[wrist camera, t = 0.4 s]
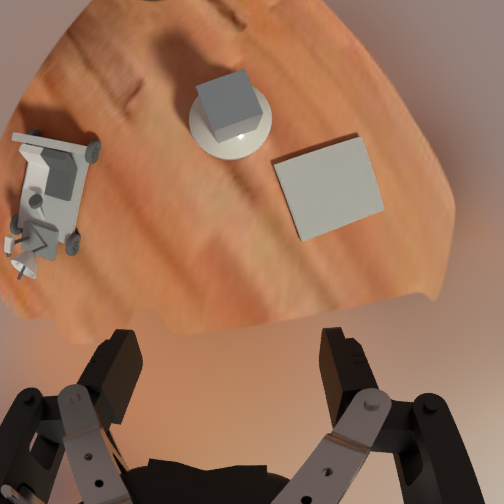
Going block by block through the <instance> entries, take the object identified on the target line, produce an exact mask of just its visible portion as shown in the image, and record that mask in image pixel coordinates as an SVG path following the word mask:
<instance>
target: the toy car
mask: <svg viewBox="0 0 504 504" xmlns="http://www.w3.org/2000/svg"><path fill="white" fill-rule="evenodd" d="M12 140H13V141H19V142H24V143H26V144H22V145H21V147H20V149H19V151H20V153H21V154H22V155H23V156H24V158H25V159H26V160H27V161H28V164H27V169H26V174H25V179H24V184H23V190H22V195H21V202H20V209H19V214H16V215H15V216H14V217H13V218H12V220H11V223H10V231H11V233H12V234H15V235H19V234H20V233H21V232H22V231H23V232H22V238H21V239H18V240H15V237H14V236H12V235H8V236H5V248H4V251H5V252H7V257H11V253H12V252H14V244H16V243H19V242H21V249H23V250H25V251H24V252H22V253H20V254H19V255H17V256H16V257H14V258H13V259H12V260H11V263H12V265H13V266H14V267H15V268H16V269H17V270H18V271H20V274H19V276H18V278H17V279H18V280H20V278H21V276H22V274H24V275H26V276H28V277H31V278H36V272H37V262H36V256H35V255H38V256H40V257H43V258H45V259H48V260H50V261H53V260H55V259H56V252H57V244H58V241H59V242H61V243H64V244H66V253H67V254H68V255H70V256H75V255H76V254H77V252H78V251H79V243H80V239H81V237H80V235H79V234H76V233H75V228H76V222H77V217H78V211H79V206H80V201H81V197H82V192H83V187H84V183H85V179H86V175H87V171H88V167H89V163H91V164H93V163H95V162H96V161H97V160H98V156H99V152H100V149H101V143H100V141H97V140H92V141H91V142H90V143H89V144H88V146H83V145H78V144H73V143H69V142H64V141H59V140H54V139H49V138H43V137H41V131H40V130H39V129H32V130H30V131H29V133H28V134H27V135H26V134H20V133H14V132H13V136H12Z"/></svg>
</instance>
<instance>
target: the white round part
mask: <svg viewBox="0 0 504 504" xmlns="http://www.w3.org/2000/svg"><path fill="white" fill-rule="evenodd" d="M252 87H253V86H252ZM253 90H254V92H255V94H256V97H257V99H258V101H259V104H260V106H261V109H262V111H263V115H262V118H261V120H260V123H259V125H258V127H257V129H256V130H253V131H250V132H248V133H245V134H242V135H239V136H237V137H234V138H231V139H228V140H226V141H223V142H221V143H218V141H217V139H216V137H215V134H214V132H213V129H212V127H211V124H210V122H209V119H208V117H207V114H206V112H205V109H204V106H203V104H202V101H201V99H200V96H199V95H198V96H197V98H196V99H195V101H194V102H193V104H192V107H191V110H190V114H189V126H190V131H191V134H192V136H193V138H194V139H195V141H196V142H197V144H198V145H199V146H200V147H201V148H202V149H203V150H204V151H205V152H206V153H208V154H209V155H210V156H212V157H214V158H217V159H220V160H225V161H236V160H240V159H244V158H246V157H248V156H250V155H252V154H253V153H254V152H256V151H257V150H258V149H259V148H260V146H261V145H262V144H263V142H264V141H265V140H266V138H267V136H268V134H269V132H270V129H271V124H272V113H271V109H270V106H269V103H268V101H267V100H266V98H265V97H264V95H263V94H262V93H261V92H260V91H259V90H257V89H256V88H255V87H253Z"/></svg>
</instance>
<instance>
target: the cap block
mask: <svg viewBox="0 0 504 504" xmlns="http://www.w3.org/2000/svg"><path fill="white" fill-rule="evenodd" d="M196 89H197V91H198V94H199V96H200V99H201V101H202V104H203V106H204V109H205V112H206V114H207V117H208V119H209V122H210V124H211V127H212V129H213V132H214V134H215V137H216V139H217V141H218V143H221V142H223V141H226V140H228V139H231V138H234V137H237V136H239V135H242V134H245V133H248V132H250V131H253V130H256V129H257V127H258V125H259V123H260V120H261V118H262V115H263V111H262V109H261V106H260V104H259V101H258V99H257V97H256V94H255V92H254V90H253V87H252V85H251V83H250V80H249V78H248V76H247V73H246V71H245V69H243V70H240V71H237V72H234V73H231V74H228V75H225V76H222V77H219V78H216V79H214V80H211V81H208V82H206V83H203V84H200V85H198V86H196Z"/></svg>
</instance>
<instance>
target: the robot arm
mask: <svg viewBox="0 0 504 504" xmlns="http://www.w3.org/2000/svg"><path fill="white" fill-rule="evenodd" d="M145 1H158V0H145ZM142 366H143V360H142V354H141V351H140V348H139V345H138V342H137V338H136V335H135V332H134V331H133V330H125V329H116V330H115V331H114V333H113V335H112V337H111V338H110V340H107V339H106V340H105V341H104V342H103V343H101V344H100V345H99V346H98V348H97V349H96V351H95V352H94V356H92V358H91V360H90V362H89V363H88V364H87V366H86V368H85V370H84V372H83V373H82V375H81V377H80V379H79V381H78V382H77V384H73V385H69V386H67V387H65V388H64V389H63V390H61V392H60V394H59V395H58V396H46V397H43V395H42V394H41V392H40V391H39V390H38V389H37V388H26V389H24V390H23V391H21V392H20V393H19V394H18V395H17V397H16V398H15V400H14V402H13V404H12V405H11V407H10V409H9V411H8V413H7V414H6V416H5V418H4V420H3V422H2V424H1V426H0V504H47V503H48V500H49V497H50V493H51V490H52V487H53V484H54V481H55V478H56V475H57V472H58V469H59V466H60V463H61V460H62V458H63V455H64V452H65V450H66V453H67V457H68V460H69V463H70V466H71V469H72V472H73V475H74V478H75V481H76V484H77V486H78V489H79V492H80V494H81V496H82V499H83V501H82V502H80V503H79V504H339V503H340V501H341V500H342V498H343V497H344V495H345V493H346V492H347V490H348V489H349V487H350V485H351V484H352V482H353V481H354V479H355V477H356V475H357V474H358V472H359V471H360V469H361V467H362V465H363V464H364V462H365V460H366V458H367V457H368V455H369V453H370V451H374V452H387V453H393V455H394V460H395V464H396V469H397V473H398V477H399V482H400V486H401V490H402V496H403V500H404V504H485V502H484V499H483V496H482V493H481V489H480V487H479V484H478V481H477V478H476V475H475V472H474V469H473V467H472V464H471V461H470V459H469V456H468V453H467V451H466V448H465V446H464V443H463V441H462V438H461V436H460V433H459V431H458V428H457V426H456V424H455V422H454V419H453V417H452V415H451V412H450V410H449V408H448V406H447V403H446V402H445V400H444V399H443V398H442V397H440V396H439V395H436V394H433V393H424V394H421V395H419V396H418V397H417V398H416V399H415V400H414V402H403V401H395V400H392V399H390V397H389V396H388V395H387V394H386V393H385V392H383V391H381V390H379V388H378V385H377V383H376V380H375V378H374V375H373V373H372V370H371V368H370V366H369V363H368V360H367V358H366V356H365V353H364V351H363V348H362V346H361V345H360V344H359V343H358V342H357V341H356V340H355V339H354V338H346V339H345V336H344V334H343V331H342V329H341V327H334V328H323V329H322V335H321V344H320V353H319V367H320V372H321V377H322V382H323V386H324V390H325V394H326V399H327V404H328V408H329V413H330V418H331V423H332V427H333V431H332V432H331V433H330V434H327V435H325V436H324V438H323V439H322V440H321V442H320V443H319V444H318V446H317V447H316V448H315V450H314V451H313V452H312V454H311V455H310V456H309V458H308V459H307V460H306V462H305V463H304V464H303V466H302V467H301V468H300V469H299V471H298V472H297V473H296V474H295V475H294V477H293V478H292V479H291V480H290V479H288V478H285V477H283V476H280V475H277V474H273V473H268V472H267V465H256V466H255V465H250V466H244V465H243V466H242V465H236V466H232V467H226V468H220V469H215V470H208V471H206V470H201V469H197V468H194V467H191V466H188V465H184V464H181V463H178V462H173V461H164V460H157V459H149V462H148V466H142V467H137V468H134V469H131V470H130V469H129V468H128V466H127V464H126V462H125V461H124V458H123V457H122V454H121V452H120V450H119V448H118V446H117V444H116V442H115V440H114V437H113V435H112V433H111V431H110V429H109V428H110V425H111V423H114V424H120V425H121V423H122V420H123V418H124V415H125V412H126V409H127V407H128V404H129V401H130V399H131V396H132V393H133V390H134V388H135V385H136V383H137V381H138V378H139V375H140V373H141V370H142ZM35 432H36V433H37V434H38V435H37V438H36V440H35V442H34V445H33V447H32V449H31V452H30V451H29V446H30V443H31V441H32V438H33V436H34V434H35Z"/></svg>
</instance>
